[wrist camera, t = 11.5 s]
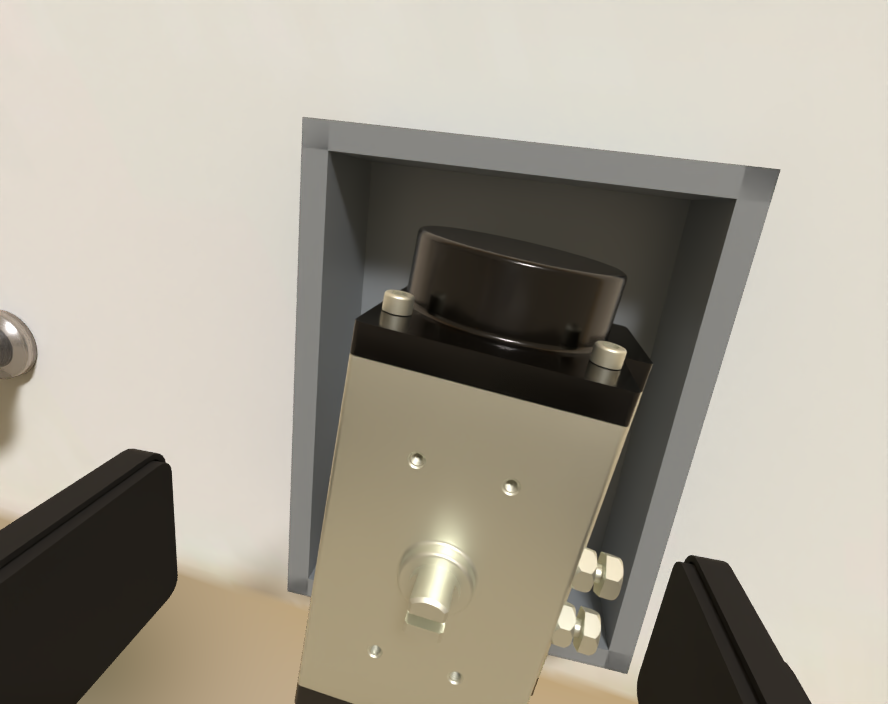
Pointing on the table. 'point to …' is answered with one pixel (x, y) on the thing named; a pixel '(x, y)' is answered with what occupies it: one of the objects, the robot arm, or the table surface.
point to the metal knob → (15, 346)
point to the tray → (549, 224)
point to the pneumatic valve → (471, 476)
